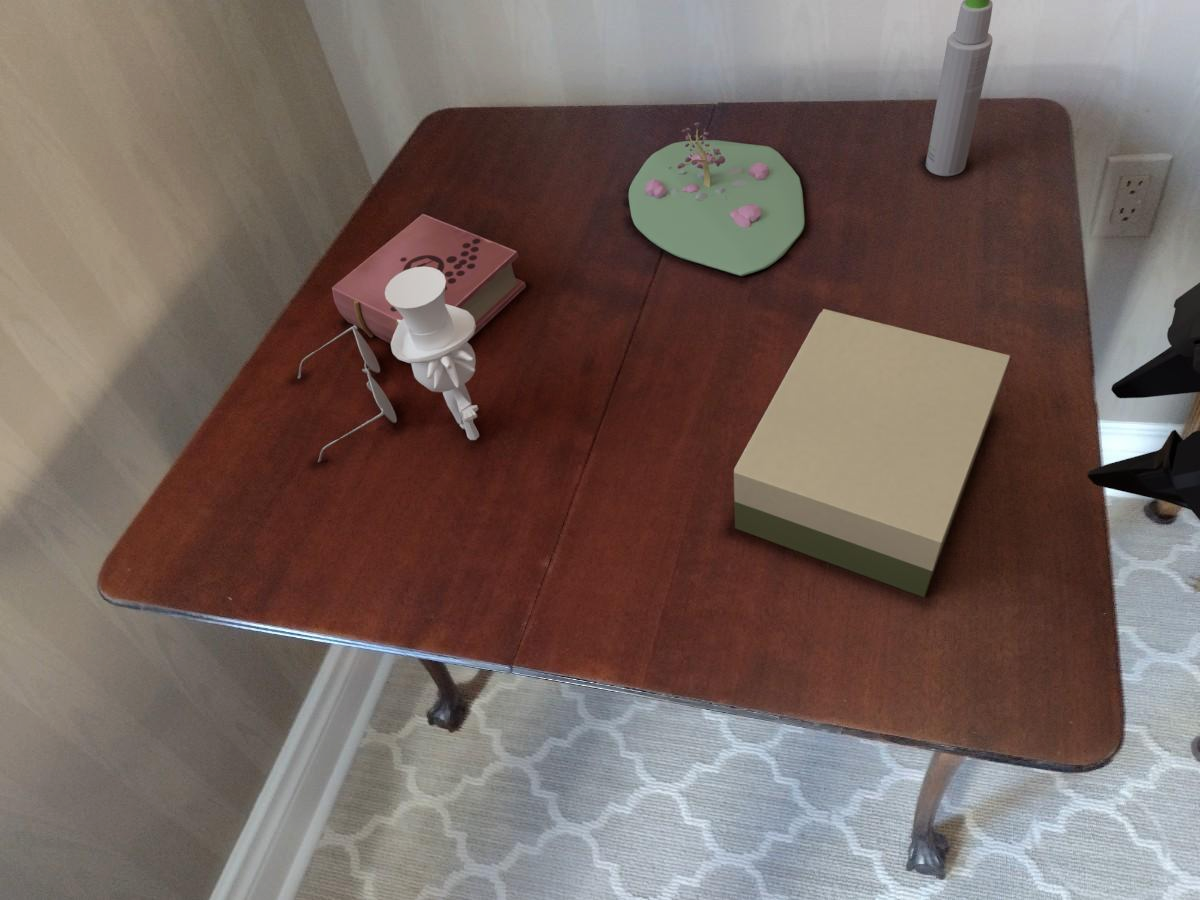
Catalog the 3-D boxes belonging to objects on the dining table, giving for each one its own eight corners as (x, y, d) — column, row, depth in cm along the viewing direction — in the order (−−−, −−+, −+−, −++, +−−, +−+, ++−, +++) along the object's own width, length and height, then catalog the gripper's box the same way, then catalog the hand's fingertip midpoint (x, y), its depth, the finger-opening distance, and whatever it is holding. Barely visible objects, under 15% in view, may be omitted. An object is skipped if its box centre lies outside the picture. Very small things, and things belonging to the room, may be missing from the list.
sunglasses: (402, 435, 87) (378, 405, 83) (326, 474, 87) (299, 446, 83) (373, 347, 96) (350, 316, 92) (304, 383, 96) (278, 353, 92)
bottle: (938, 150, 105) (971, -25, 89) (972, 162, 102) (1012, -16, 87) (917, 168, 103) (947, -7, 88) (952, 181, 101) (989, 3, 85)
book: (342, 326, 99) (325, 292, 95) (434, 248, 105) (422, 213, 102) (433, 373, 92) (419, 338, 88) (525, 286, 99) (516, 251, 95)
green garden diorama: (863, 226, 98) (872, 154, 91) (703, 299, 94) (699, 230, 87) (739, 127, 113) (738, 59, 106) (596, 187, 109) (586, 120, 102)
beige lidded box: (990, 418, 79) (1010, 355, 73) (924, 597, 69) (941, 542, 63) (816, 369, 86) (821, 308, 79) (733, 527, 76) (731, 471, 69)
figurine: (524, 446, 84) (480, 304, 70) (450, 480, 83) (390, 342, 69) (484, 378, 91) (437, 236, 77) (415, 409, 89) (354, 270, 75)
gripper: (1322, 162, 51) (1066, 268, 64) (1295, 382, 42) (1001, 455, 55) (1411, 296, 54) (1149, 373, 67) (1405, 530, 45) (1101, 566, 58)
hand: (1103, 433), depth 62 cm, fingers open, 8 cm apart
